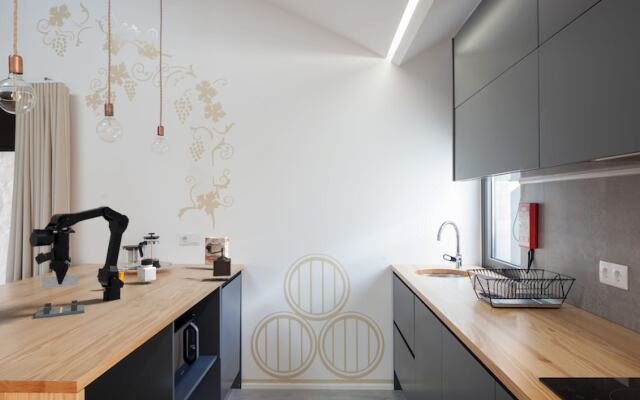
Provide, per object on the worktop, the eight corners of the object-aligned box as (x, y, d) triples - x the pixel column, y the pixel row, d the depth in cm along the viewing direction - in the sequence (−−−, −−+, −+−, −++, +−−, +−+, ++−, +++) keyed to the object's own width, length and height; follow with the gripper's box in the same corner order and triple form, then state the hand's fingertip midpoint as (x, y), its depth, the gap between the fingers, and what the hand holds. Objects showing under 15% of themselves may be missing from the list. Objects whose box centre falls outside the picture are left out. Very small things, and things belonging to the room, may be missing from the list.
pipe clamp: (116, 283, 214) (116, 271, 214) (123, 284, 214) (123, 272, 214) (101, 288, 202) (101, 275, 202) (108, 288, 202) (109, 276, 202)
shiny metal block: (77, 283, 165) (77, 273, 165) (78, 285, 161) (78, 275, 161) (42, 286, 158) (42, 276, 158) (42, 288, 154) (42, 278, 154)
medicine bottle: (156, 279, 225) (156, 258, 225) (144, 281, 219) (144, 260, 219) (148, 278, 229) (148, 257, 229) (137, 280, 223) (137, 259, 223)
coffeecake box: (204, 265, 278) (204, 237, 278) (209, 263, 285) (209, 236, 285) (224, 265, 276) (224, 237, 276) (228, 264, 283) (228, 236, 283)
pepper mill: (231, 272, 247) (231, 244, 247) (230, 276, 236) (230, 246, 236) (205, 273, 244) (205, 244, 244) (203, 277, 233) (203, 246, 234)
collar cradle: (84, 307, 166) (84, 298, 166) (84, 312, 157) (84, 303, 157) (37, 312, 158) (37, 303, 158) (35, 318, 149) (35, 309, 149)
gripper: (39, 243, 164) (39, 281, 164) (33, 247, 148) (32, 289, 147) (71, 242, 169) (70, 278, 169) (68, 246, 153) (68, 286, 153)
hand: (60, 283), depth 160 cm, fingers closed on shiny metal block, 4 cm apart
